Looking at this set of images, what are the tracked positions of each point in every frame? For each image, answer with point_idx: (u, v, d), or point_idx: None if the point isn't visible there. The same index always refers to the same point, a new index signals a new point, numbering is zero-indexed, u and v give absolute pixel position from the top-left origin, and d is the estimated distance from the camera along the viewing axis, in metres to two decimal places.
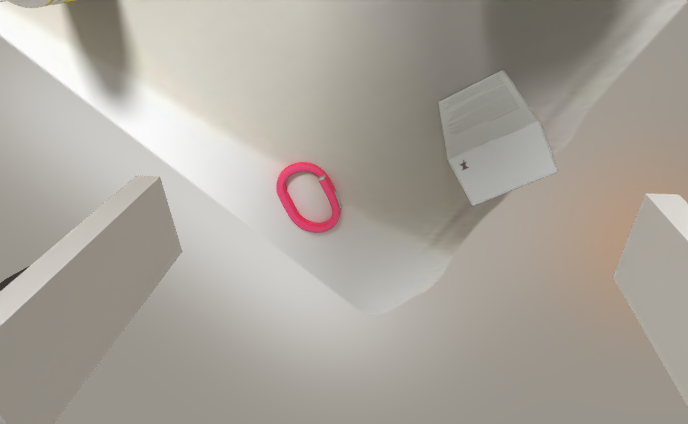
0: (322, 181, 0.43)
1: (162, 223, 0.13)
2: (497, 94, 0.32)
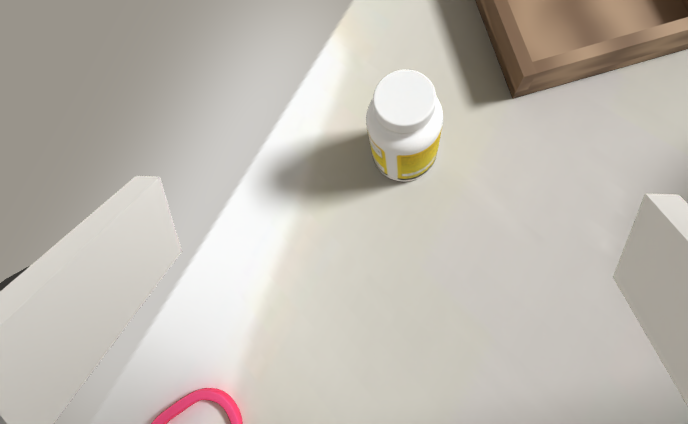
0: None
1: (162, 223, 0.13)
2: None
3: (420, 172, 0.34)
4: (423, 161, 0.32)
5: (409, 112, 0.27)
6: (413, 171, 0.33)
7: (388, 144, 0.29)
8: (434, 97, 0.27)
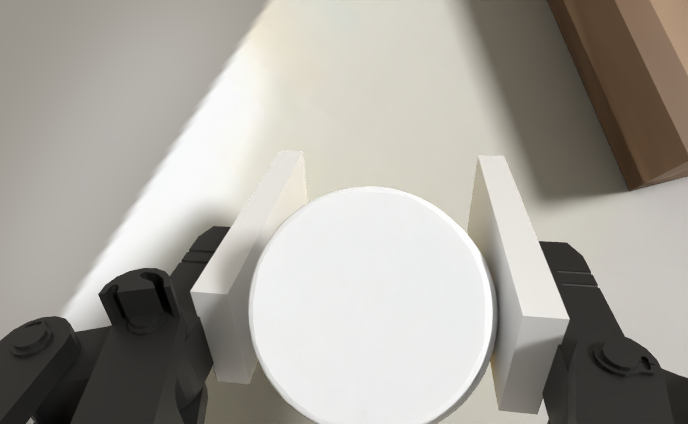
0: None
1: (303, 194, 0.14)
2: None
3: None
4: None
5: (384, 377, 0.07)
6: None
7: None
8: (487, 314, 0.07)
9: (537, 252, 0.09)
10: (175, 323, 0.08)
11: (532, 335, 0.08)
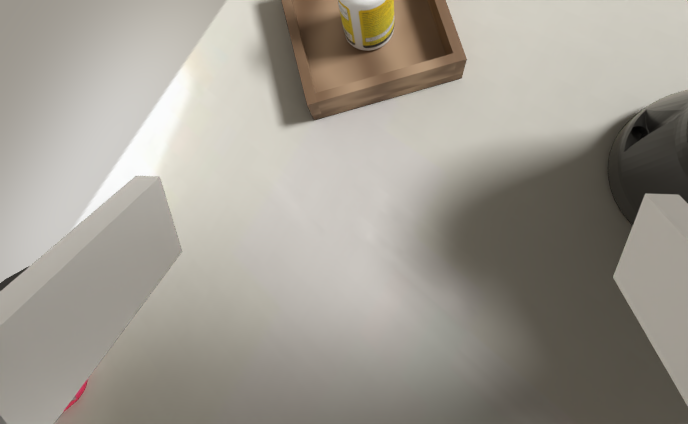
0: None
1: (162, 223, 0.13)
2: None
3: (380, 39, 0.44)
4: (380, 23, 0.42)
5: None
6: (374, 35, 0.43)
7: (351, 0, 0.39)
8: None
9: None
10: None
11: None
